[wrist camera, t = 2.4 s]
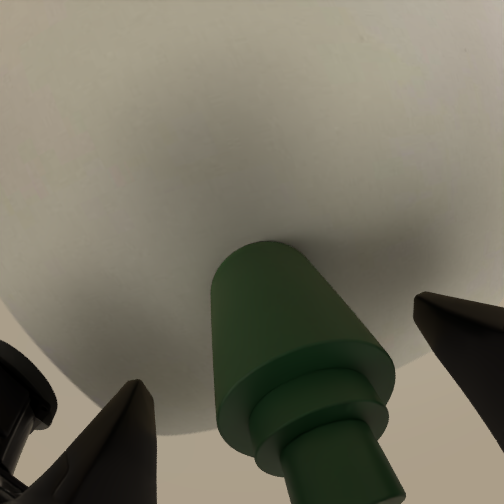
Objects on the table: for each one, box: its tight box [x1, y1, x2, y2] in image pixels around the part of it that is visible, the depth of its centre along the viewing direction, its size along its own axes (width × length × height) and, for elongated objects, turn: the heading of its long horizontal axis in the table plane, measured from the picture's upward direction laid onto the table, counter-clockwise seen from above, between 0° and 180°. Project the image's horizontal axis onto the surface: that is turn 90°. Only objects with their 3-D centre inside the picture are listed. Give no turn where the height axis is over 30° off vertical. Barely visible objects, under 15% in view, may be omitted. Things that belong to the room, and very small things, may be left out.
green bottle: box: [211, 241, 406, 504], centre depth 8 cm, size 4×4×10 cm
